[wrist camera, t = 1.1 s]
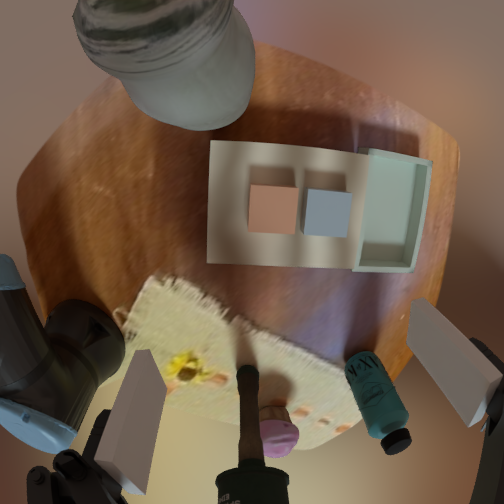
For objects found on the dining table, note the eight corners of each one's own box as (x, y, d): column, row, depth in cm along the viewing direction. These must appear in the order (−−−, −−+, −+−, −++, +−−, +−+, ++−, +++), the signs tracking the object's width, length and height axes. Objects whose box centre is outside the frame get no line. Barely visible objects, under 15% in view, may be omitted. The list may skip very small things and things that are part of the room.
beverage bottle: (381, 352, 47) (430, 435, 28) (357, 377, 49) (394, 463, 30) (358, 339, 46) (406, 429, 27) (332, 366, 47) (367, 459, 28)
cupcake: (283, 427, 52) (289, 466, 43) (242, 421, 51) (243, 462, 42) (301, 400, 50) (310, 441, 40) (256, 393, 49) (259, 437, 39)
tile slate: (300, 230, 34) (303, 234, 32) (304, 186, 32) (308, 189, 30) (341, 232, 34) (346, 237, 32) (346, 190, 32) (352, 193, 31)
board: (210, 249, 39) (206, 262, 35) (214, 141, 35) (210, 140, 30) (341, 255, 40) (353, 268, 36) (354, 154, 36) (369, 155, 31)
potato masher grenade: (232, 345, 45) (230, 533, 16) (282, 360, 46) (314, 534, 18) (214, 380, 47) (203, 546, 19) (260, 393, 49) (274, 551, 20)
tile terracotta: (247, 227, 34) (248, 232, 32) (250, 182, 32) (250, 184, 30) (291, 229, 34) (294, 234, 32) (295, 185, 32) (298, 188, 30)
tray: (343, 262, 41) (352, 271, 37) (358, 147, 36) (368, 147, 32) (402, 264, 41) (413, 273, 38) (419, 159, 36) (432, 161, 33)
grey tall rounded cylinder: (240, 52, 31) (241, -109, 5) (257, 125, 34) (303, 55, 8) (164, 70, 31) (38, -39, 5) (179, 143, 35) (39, 136, 8)
